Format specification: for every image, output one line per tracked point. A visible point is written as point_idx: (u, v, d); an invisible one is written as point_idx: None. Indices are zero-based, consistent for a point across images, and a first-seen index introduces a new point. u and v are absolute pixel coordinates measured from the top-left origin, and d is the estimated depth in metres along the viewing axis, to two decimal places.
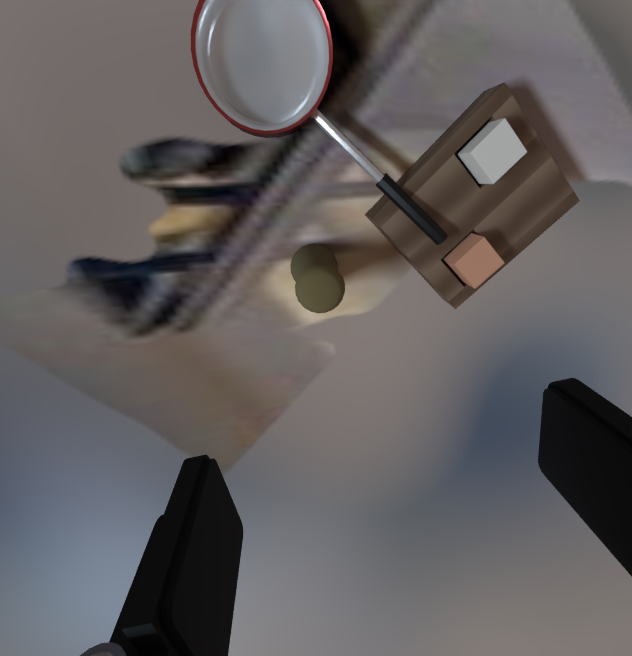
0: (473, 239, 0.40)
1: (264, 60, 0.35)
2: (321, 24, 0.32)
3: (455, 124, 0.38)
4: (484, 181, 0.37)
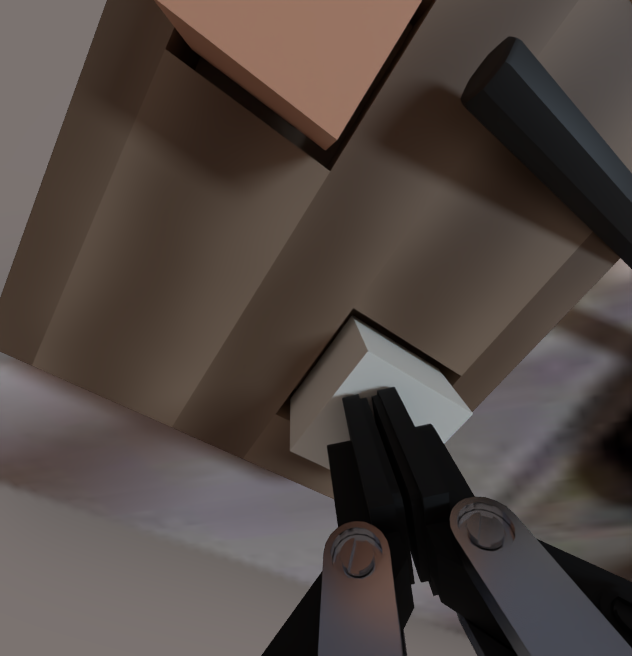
0: None
1: None
2: None
3: None
4: (367, 336, 0.11)
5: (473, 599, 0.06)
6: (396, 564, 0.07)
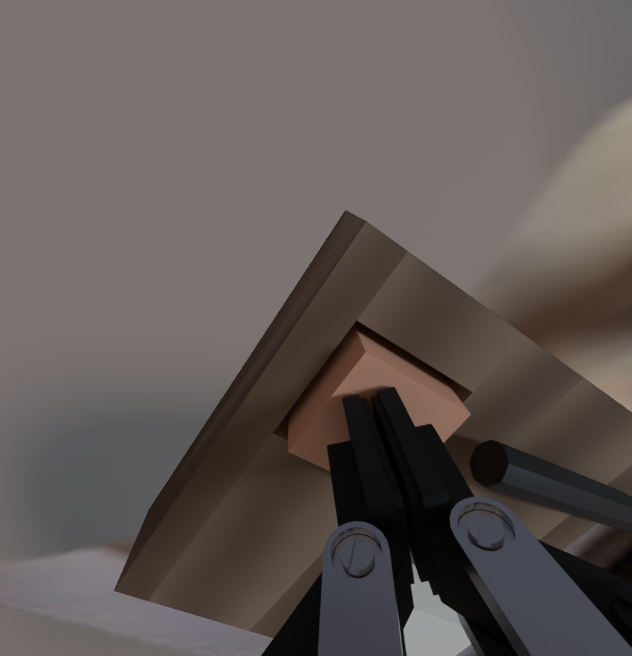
0: None
1: None
2: None
3: None
4: None
5: (473, 599, 0.06)
6: (396, 564, 0.07)
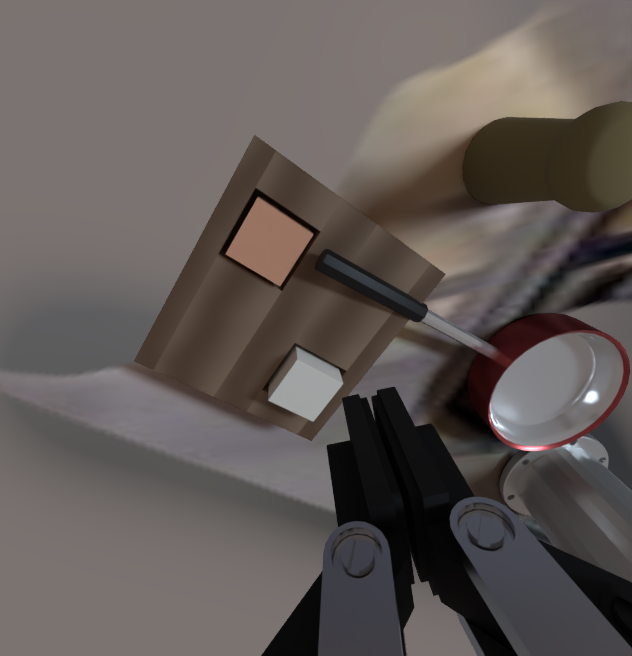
0: None
1: (540, 381, 0.34)
2: (495, 425, 0.33)
3: None
4: (300, 352, 0.27)
5: (473, 599, 0.06)
6: (396, 564, 0.07)
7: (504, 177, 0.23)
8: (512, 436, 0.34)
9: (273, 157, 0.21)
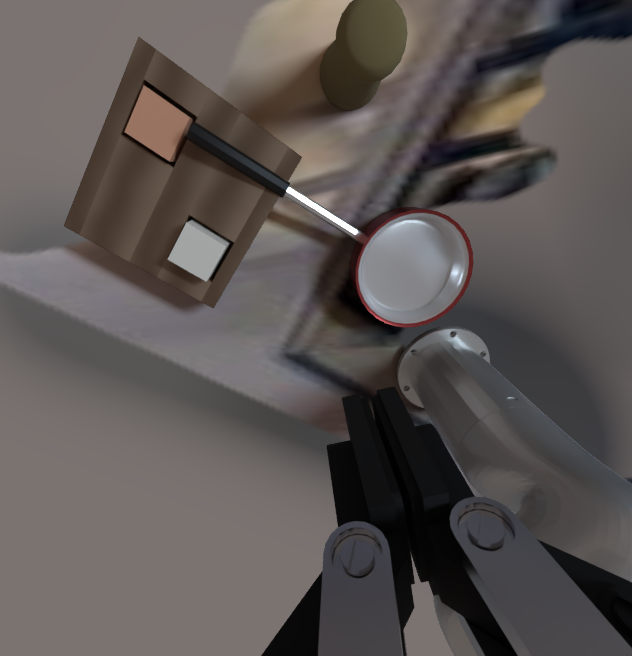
0: (176, 155, 0.33)
1: (408, 268, 0.40)
2: (367, 301, 0.40)
3: None
4: (193, 222, 0.34)
5: (473, 599, 0.06)
6: (396, 564, 0.07)
7: (332, 73, 0.30)
8: (385, 314, 0.41)
9: (154, 54, 0.29)
